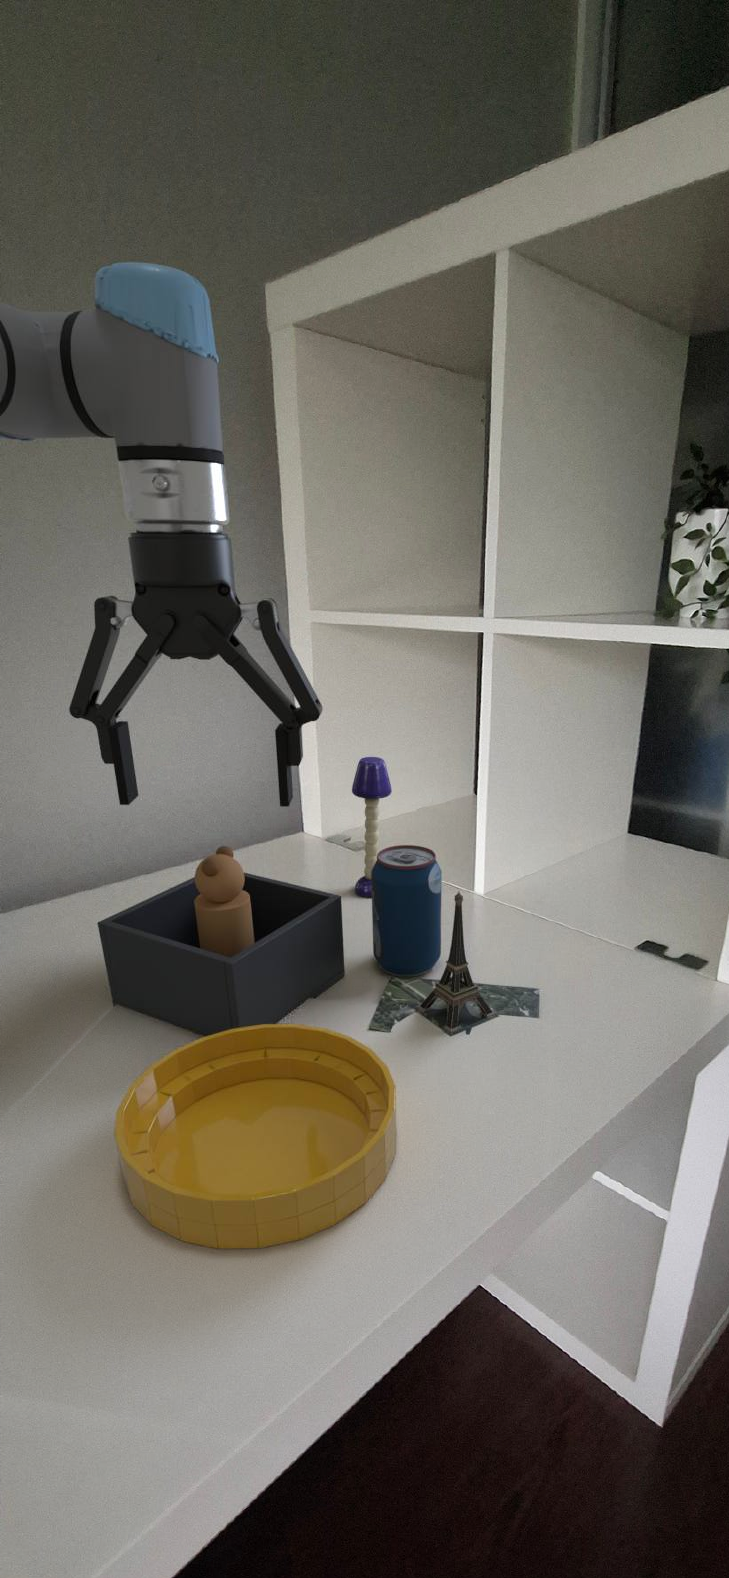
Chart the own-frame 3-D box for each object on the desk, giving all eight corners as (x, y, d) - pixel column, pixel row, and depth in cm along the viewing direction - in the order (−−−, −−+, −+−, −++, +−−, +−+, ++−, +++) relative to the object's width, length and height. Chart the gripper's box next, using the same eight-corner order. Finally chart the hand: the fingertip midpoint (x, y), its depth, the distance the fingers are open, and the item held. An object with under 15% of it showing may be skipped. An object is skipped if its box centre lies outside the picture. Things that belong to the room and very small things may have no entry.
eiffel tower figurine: (542, 993, 78) (551, 865, 72) (537, 1053, 69) (548, 912, 63) (390, 980, 80) (388, 854, 74) (367, 1036, 71) (362, 898, 65)
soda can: (454, 961, 83) (456, 853, 78) (411, 987, 79) (410, 874, 73) (403, 942, 87) (402, 837, 82) (359, 965, 82) (355, 856, 77)
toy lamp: (395, 885, 101) (394, 754, 94) (389, 900, 97) (386, 765, 90) (358, 883, 102) (354, 753, 95) (350, 897, 98) (345, 763, 91)
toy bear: (196, 994, 76) (178, 861, 70) (217, 968, 80) (201, 841, 74) (247, 998, 75) (233, 864, 69) (265, 973, 79) (253, 844, 74)
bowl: (65, 1185, 55) (51, 1133, 53) (249, 1045, 70) (244, 1001, 68) (288, 1303, 46) (282, 1246, 44) (442, 1115, 61) (443, 1067, 59)
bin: (113, 1006, 75) (96, 922, 71) (226, 940, 87) (217, 865, 84) (241, 1054, 68) (231, 963, 65) (345, 975, 81) (341, 895, 77)
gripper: (-12, 525, 57) (45, 813, 66) (341, 532, 57) (348, 816, 67) (33, 526, 64) (79, 787, 73) (348, 532, 64) (354, 790, 73)
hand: (208, 801), depth 70 cm, fingers open, 13 cm apart
